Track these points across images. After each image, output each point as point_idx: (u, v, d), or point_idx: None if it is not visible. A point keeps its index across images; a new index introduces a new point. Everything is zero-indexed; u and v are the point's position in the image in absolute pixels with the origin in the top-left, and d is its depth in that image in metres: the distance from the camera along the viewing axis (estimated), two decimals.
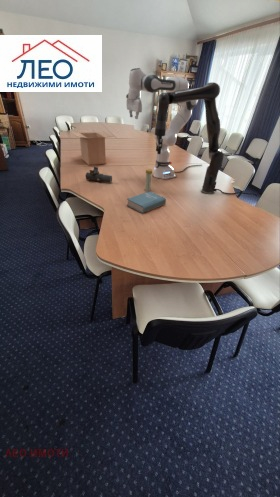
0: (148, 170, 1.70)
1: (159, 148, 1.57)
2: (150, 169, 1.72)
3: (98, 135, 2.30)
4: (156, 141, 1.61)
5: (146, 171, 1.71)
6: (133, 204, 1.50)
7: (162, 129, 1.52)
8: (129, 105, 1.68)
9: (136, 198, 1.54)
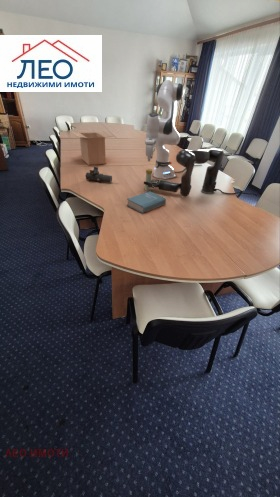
0: (148, 170, 1.70)
1: (151, 181, 1.80)
2: (150, 169, 1.72)
3: (98, 135, 2.30)
4: None
5: (146, 171, 1.71)
6: (133, 204, 1.50)
7: None
8: (152, 150, 1.58)
9: (136, 198, 1.54)
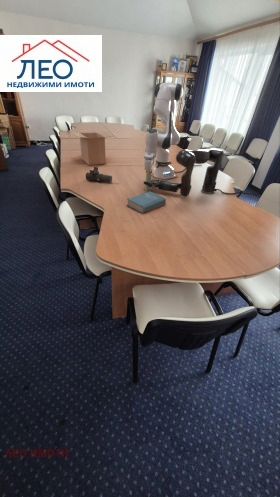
0: None
1: (151, 181, 1.80)
2: (150, 169, 1.72)
3: (98, 135, 2.30)
4: None
5: (146, 171, 1.71)
6: (133, 204, 1.50)
7: None
8: (151, 164, 1.64)
9: (136, 198, 1.54)
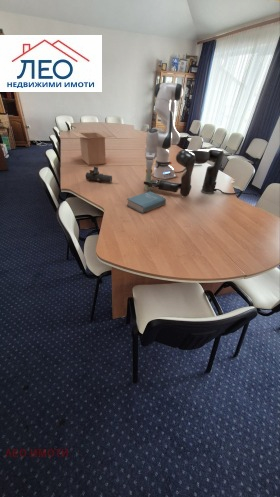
0: (151, 170, 1.70)
1: None
2: None
3: (98, 135, 2.30)
4: None
5: (150, 171, 1.70)
6: (133, 204, 1.50)
7: None
8: None
9: (136, 198, 1.54)
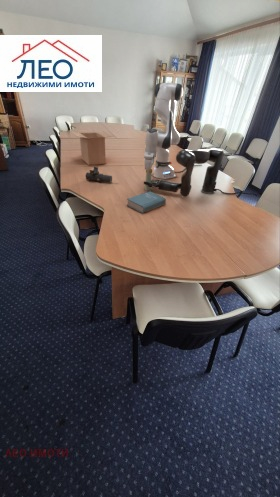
0: (151, 170, 1.70)
1: (151, 181, 1.80)
2: None
3: (98, 135, 2.30)
4: None
5: (150, 171, 1.70)
6: (133, 204, 1.50)
7: None
8: (151, 164, 1.64)
9: (136, 198, 1.54)
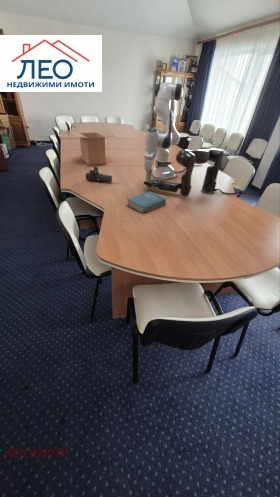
0: None
1: (151, 181, 1.80)
2: None
3: (98, 135, 2.30)
4: None
5: None
6: (133, 204, 1.50)
7: None
8: (151, 163, 1.64)
9: (136, 198, 1.54)
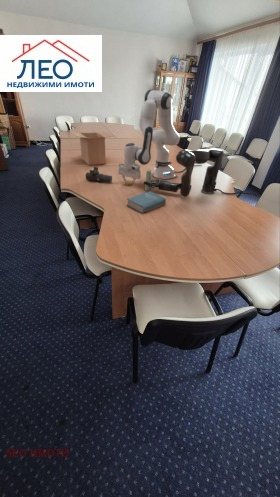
0: None
1: (151, 181, 1.80)
2: (128, 182, 1.86)
3: (98, 135, 2.30)
4: None
5: None
6: (133, 204, 1.50)
7: None
8: None
9: (136, 198, 1.54)
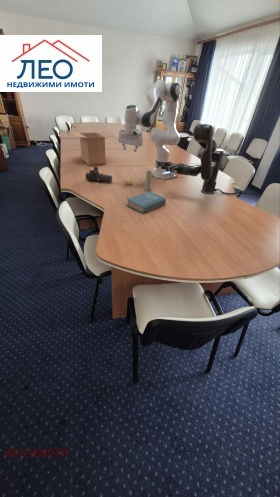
0: None
1: None
2: (128, 182, 1.86)
3: (98, 135, 2.30)
4: (171, 170, 1.63)
5: None
6: (133, 204, 1.50)
7: None
8: None
9: (136, 198, 1.54)
